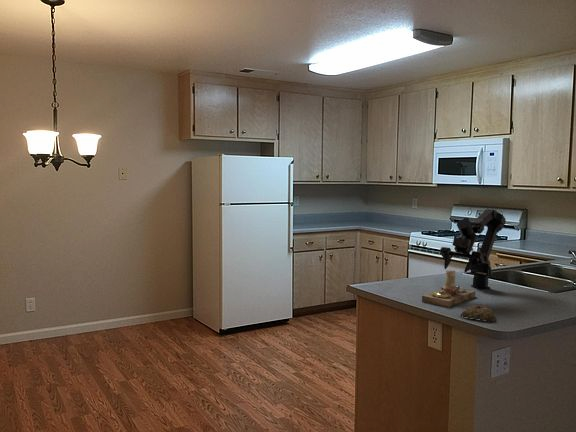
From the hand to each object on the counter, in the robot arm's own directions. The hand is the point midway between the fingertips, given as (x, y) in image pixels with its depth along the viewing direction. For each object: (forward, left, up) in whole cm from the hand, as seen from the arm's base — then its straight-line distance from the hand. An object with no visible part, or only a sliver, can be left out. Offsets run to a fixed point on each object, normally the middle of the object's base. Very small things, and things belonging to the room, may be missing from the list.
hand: (454, 270), depth 220 cm
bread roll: (+10, +27, -13) cm, 31 cm away
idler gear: (+4, +2, -12) cm, 13 cm away
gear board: (+4, +2, -12) cm, 13 cm away
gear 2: (-3, -1, -10) cm, 10 cm away
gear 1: (+10, +5, -10) cm, 15 cm away
